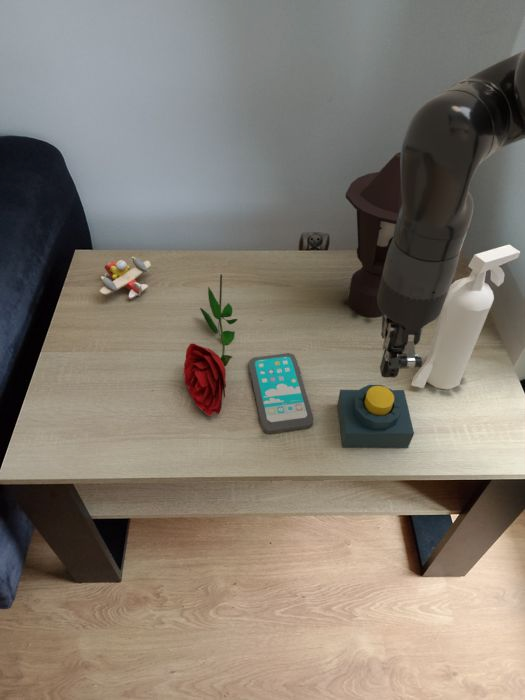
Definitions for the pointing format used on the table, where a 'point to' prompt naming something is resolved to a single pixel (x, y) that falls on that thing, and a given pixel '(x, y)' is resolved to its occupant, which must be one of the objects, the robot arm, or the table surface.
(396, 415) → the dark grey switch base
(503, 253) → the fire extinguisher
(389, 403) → the button
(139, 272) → the toy airplane
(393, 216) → the lantern
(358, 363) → the table surface
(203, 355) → the flower
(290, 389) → the smartphone
